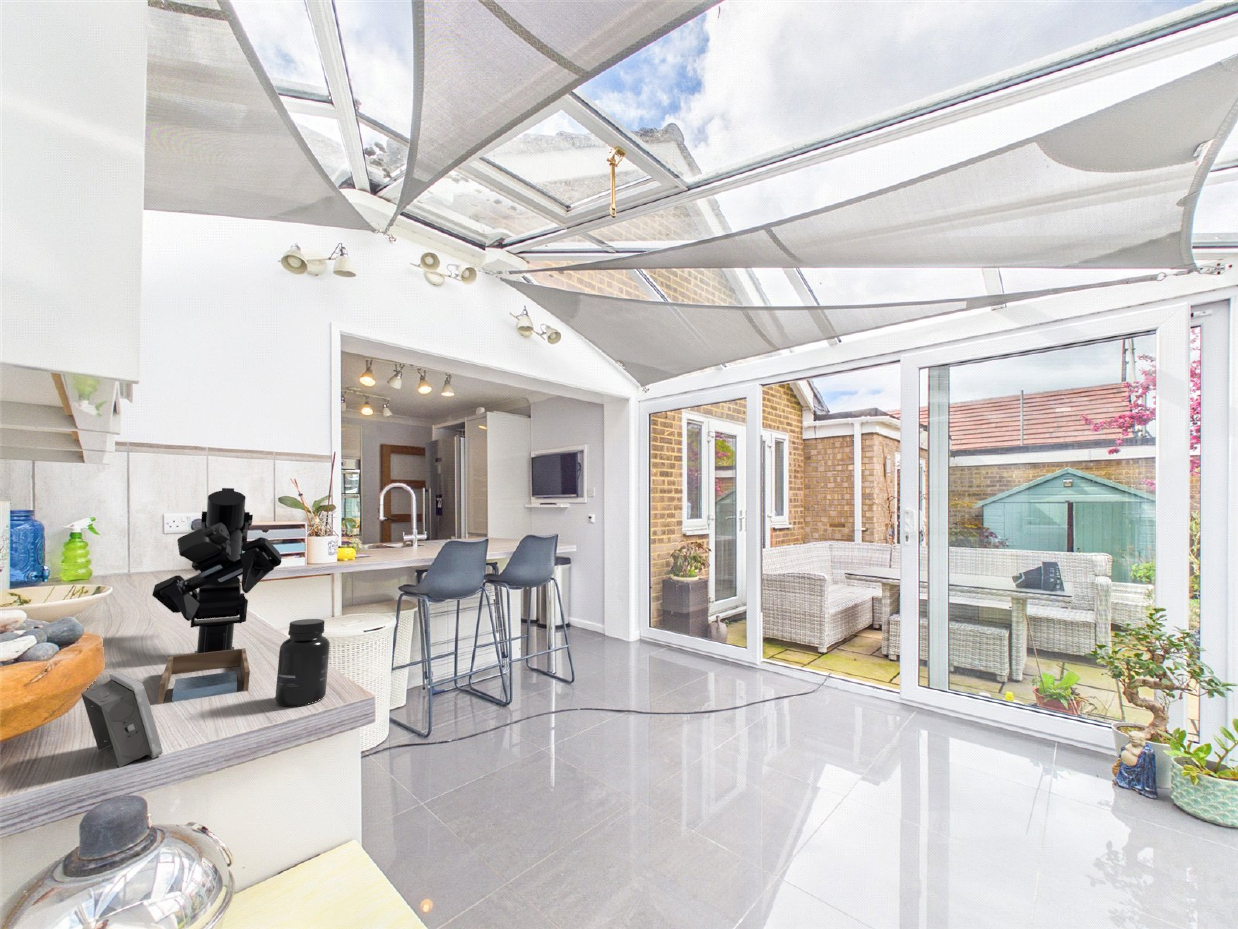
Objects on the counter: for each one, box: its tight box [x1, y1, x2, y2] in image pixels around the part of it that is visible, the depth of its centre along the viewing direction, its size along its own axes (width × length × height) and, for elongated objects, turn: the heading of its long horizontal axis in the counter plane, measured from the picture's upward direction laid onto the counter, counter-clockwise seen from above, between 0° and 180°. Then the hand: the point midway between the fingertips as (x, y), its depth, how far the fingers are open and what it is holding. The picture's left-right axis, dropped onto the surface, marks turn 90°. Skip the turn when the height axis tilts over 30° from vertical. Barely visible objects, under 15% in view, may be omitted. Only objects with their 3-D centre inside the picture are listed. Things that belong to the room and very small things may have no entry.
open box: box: [157, 647, 251, 705], centre depth 91 cm, size 19×11×3 cm, turn 37°
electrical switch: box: [80, 671, 163, 768], centre depth 63 cm, size 9×5×9 cm, turn 57°
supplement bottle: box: [274, 618, 330, 708], centre depth 83 cm, size 7×7×12 cm
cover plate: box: [171, 670, 238, 703], centre depth 86 cm, size 8×8×2 cm
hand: (216, 605), depth 90 cm, fingers open, 9 cm apart
